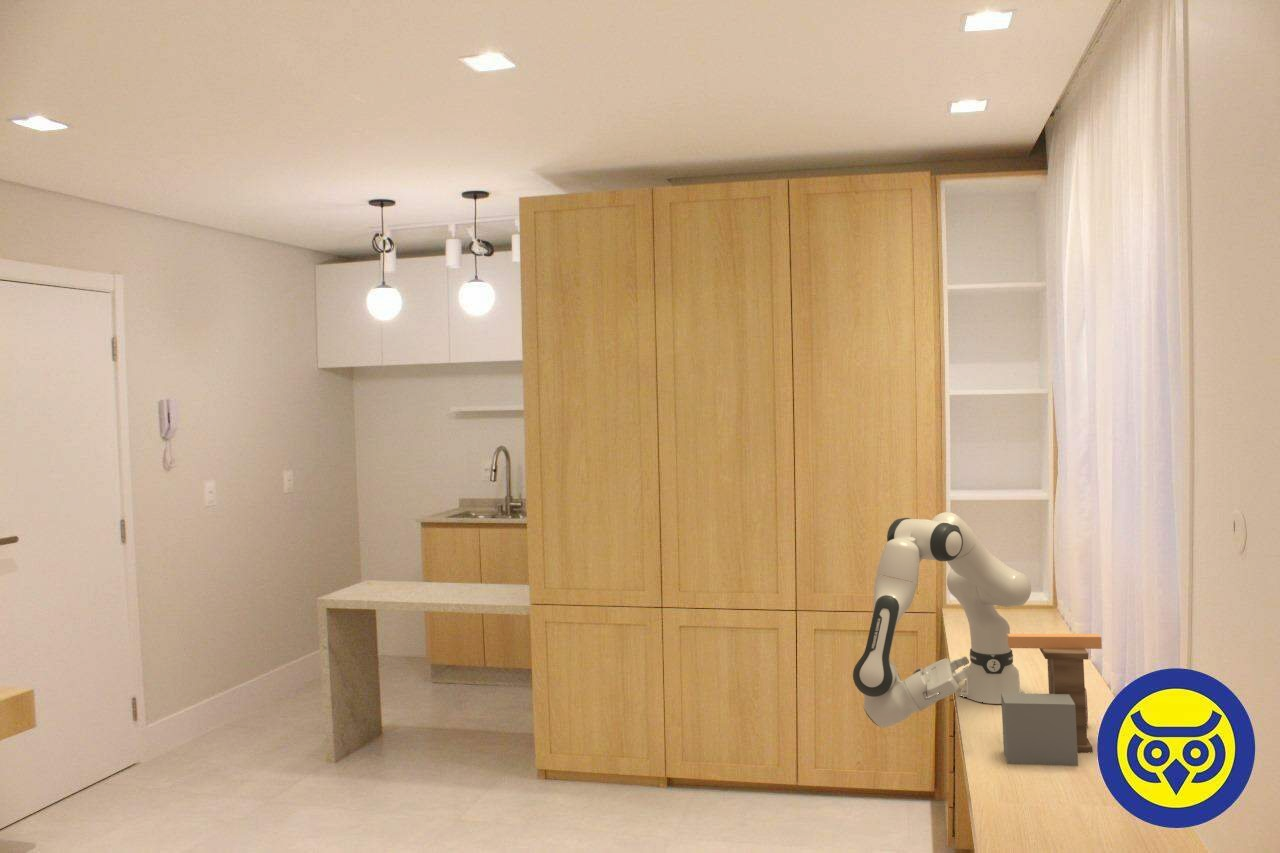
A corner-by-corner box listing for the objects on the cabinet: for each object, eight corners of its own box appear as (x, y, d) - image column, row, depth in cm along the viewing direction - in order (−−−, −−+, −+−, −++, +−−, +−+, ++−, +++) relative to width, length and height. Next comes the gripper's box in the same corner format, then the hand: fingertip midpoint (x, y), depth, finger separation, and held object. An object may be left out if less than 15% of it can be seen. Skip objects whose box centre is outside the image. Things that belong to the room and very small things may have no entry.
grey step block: (1003, 751, 246) (1001, 693, 245) (1071, 753, 242) (1069, 694, 241) (1007, 763, 238) (1004, 703, 237) (1078, 766, 234) (1075, 704, 234)
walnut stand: (1042, 734, 256) (1037, 640, 255) (1083, 735, 253) (1078, 641, 252) (1049, 751, 244) (1045, 653, 243) (1092, 752, 241) (1088, 653, 241)
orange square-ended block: (1007, 645, 252) (1007, 633, 252) (1099, 645, 247) (1098, 634, 247) (1009, 648, 249) (1008, 636, 249) (1101, 648, 244) (1101, 637, 244)
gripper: (917, 691, 247) (965, 664, 244) (915, 668, 267) (959, 643, 264) (931, 712, 246) (979, 686, 243) (928, 688, 266) (972, 663, 263)
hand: (969, 664), depth 254 cm, fingers open, 8 cm apart
